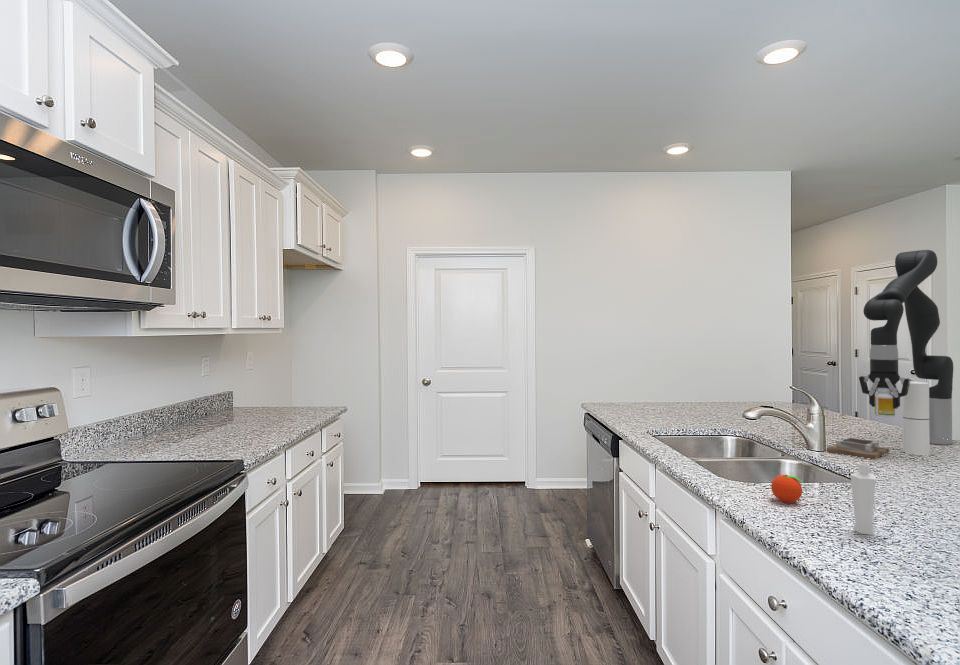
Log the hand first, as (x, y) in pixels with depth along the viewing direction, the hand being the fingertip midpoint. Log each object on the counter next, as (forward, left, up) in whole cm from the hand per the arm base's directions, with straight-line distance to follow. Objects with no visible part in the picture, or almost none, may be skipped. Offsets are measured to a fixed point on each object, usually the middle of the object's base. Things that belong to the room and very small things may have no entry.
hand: (884, 407), depth 171 cm
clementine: (+72, -1, -17) cm, 74 cm away
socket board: (-1, -8, -17) cm, 19 cm away
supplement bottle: (0, 0, -3) cm, 3 cm away
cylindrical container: (-14, +5, -17) cm, 23 cm away
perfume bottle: (+79, +17, -17) cm, 83 cm away
